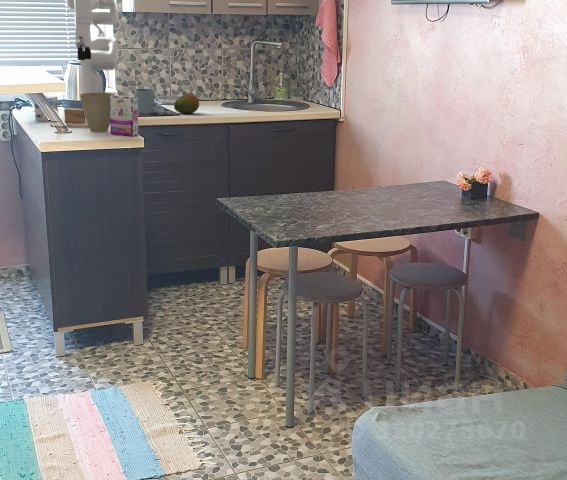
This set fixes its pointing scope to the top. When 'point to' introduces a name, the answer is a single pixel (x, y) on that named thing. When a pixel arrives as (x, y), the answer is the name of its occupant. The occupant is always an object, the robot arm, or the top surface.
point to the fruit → (186, 104)
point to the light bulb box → (39, 113)
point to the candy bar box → (124, 115)
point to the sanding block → (74, 115)
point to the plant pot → (97, 110)
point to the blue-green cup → (145, 100)
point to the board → (76, 125)
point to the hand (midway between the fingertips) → (84, 59)
